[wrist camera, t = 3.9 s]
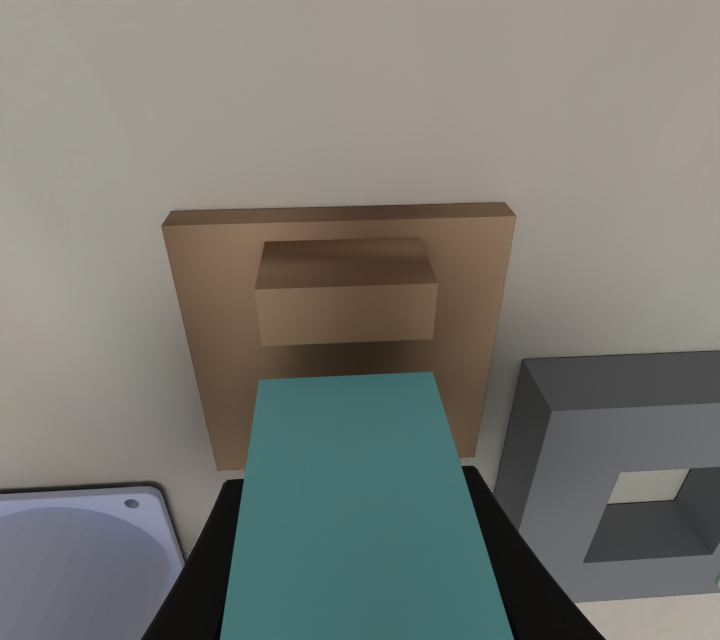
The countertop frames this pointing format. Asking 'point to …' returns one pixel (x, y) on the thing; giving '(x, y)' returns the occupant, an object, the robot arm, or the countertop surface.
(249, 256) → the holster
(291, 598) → the plug
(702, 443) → the port
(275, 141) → the countertop surface
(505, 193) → the countertop surface
